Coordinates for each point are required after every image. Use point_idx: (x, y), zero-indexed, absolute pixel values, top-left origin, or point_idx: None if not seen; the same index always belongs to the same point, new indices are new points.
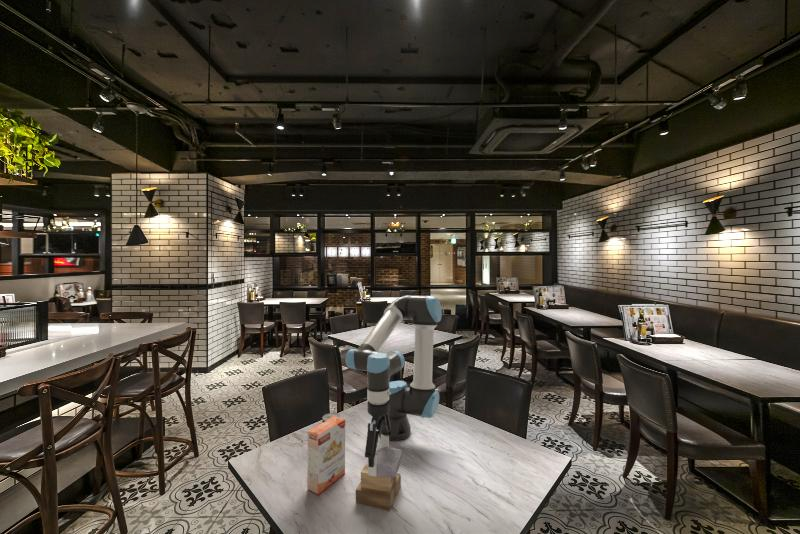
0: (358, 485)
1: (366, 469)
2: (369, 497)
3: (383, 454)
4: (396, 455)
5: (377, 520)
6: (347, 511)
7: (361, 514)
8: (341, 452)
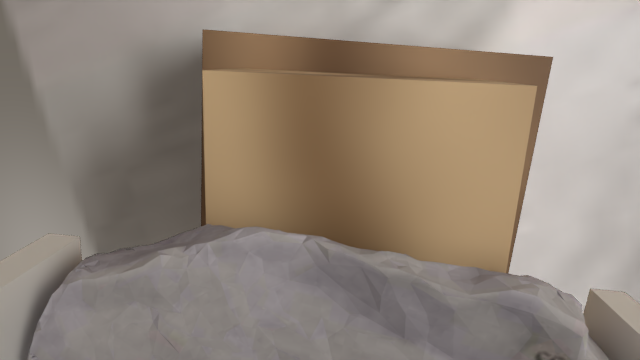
0: (264, 36)
1: (279, 129)
2: None
3: None
4: None
5: (136, 225)
6: (145, 4)
7: (150, 113)
8: None
